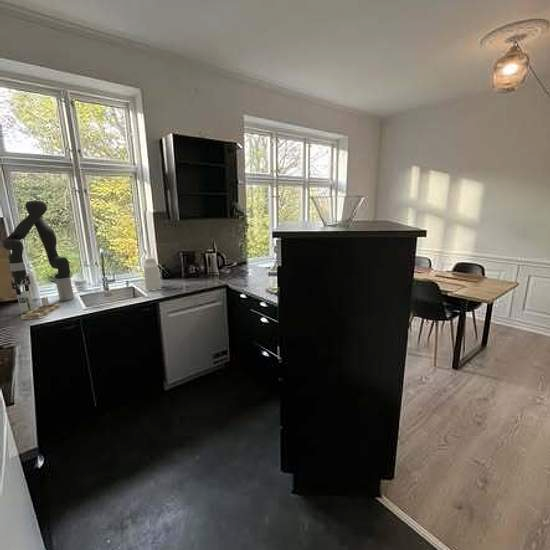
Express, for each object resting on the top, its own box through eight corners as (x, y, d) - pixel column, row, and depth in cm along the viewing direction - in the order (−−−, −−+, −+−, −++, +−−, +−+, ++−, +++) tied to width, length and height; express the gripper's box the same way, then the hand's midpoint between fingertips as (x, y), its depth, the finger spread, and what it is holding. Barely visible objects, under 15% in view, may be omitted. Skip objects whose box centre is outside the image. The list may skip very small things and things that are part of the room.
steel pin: (45, 309, 213) (42, 297, 211) (51, 309, 213) (48, 296, 211) (42, 311, 209) (39, 298, 207) (48, 310, 210) (45, 298, 208)
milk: (146, 291, 250) (142, 260, 244) (146, 288, 260) (142, 258, 254) (161, 289, 254) (158, 259, 248) (161, 286, 265) (157, 256, 259)
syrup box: (21, 314, 205) (16, 293, 202) (25, 311, 210) (20, 291, 207) (31, 313, 206) (26, 292, 203) (35, 310, 212) (30, 290, 209)
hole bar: (42, 308, 216) (41, 304, 216) (60, 306, 218) (60, 303, 217) (21, 319, 194) (20, 316, 194) (42, 318, 196) (41, 314, 195)
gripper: (19, 267, 208) (24, 290, 211) (4, 271, 194) (9, 296, 198) (31, 267, 209) (35, 289, 212) (17, 271, 195) (22, 295, 199)
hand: (23, 292), depth 205 cm, fingers open, 8 cm apart
